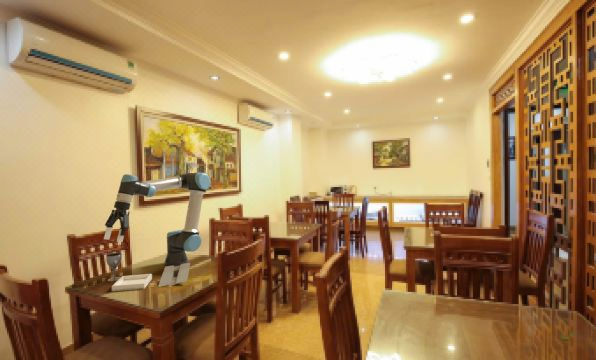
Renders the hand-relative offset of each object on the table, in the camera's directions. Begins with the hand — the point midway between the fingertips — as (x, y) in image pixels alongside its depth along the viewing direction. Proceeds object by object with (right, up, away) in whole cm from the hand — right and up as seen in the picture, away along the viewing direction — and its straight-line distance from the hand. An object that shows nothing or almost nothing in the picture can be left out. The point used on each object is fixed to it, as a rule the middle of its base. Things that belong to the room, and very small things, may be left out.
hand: (112, 240), depth 159 cm
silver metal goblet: (-10, -27, +18) cm, 34 cm away
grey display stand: (+29, -27, +13) cm, 41 cm away
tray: (+6, -27, +9) cm, 29 cm away
